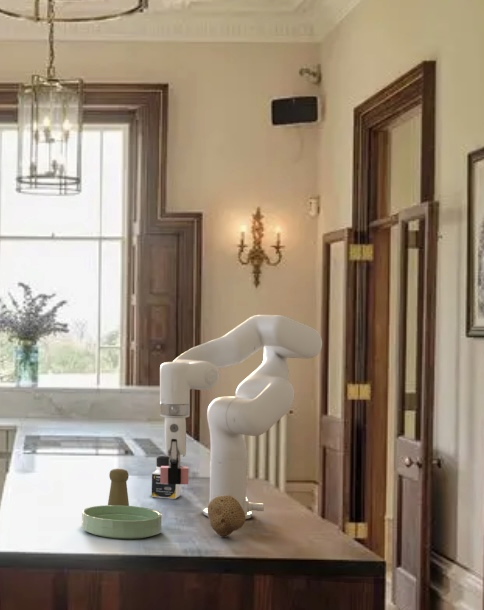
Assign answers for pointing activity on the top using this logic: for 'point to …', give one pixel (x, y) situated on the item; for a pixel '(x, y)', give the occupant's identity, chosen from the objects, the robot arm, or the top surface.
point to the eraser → (165, 474)
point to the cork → (118, 487)
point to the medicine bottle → (159, 488)
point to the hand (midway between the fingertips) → (174, 481)
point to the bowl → (121, 521)
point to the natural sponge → (225, 515)
